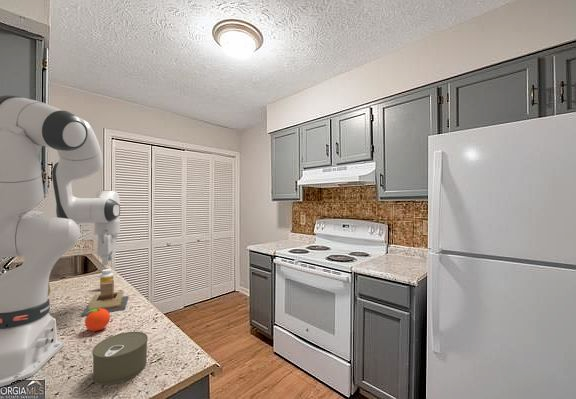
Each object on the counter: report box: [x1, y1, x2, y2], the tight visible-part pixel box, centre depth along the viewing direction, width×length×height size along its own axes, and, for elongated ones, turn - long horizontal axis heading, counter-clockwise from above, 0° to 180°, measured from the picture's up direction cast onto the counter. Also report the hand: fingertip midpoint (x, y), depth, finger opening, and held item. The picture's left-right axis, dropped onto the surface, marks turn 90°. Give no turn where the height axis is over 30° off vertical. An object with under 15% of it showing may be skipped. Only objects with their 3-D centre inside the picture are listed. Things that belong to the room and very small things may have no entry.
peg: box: [99, 279, 115, 300], centre depth 107 cm, size 4×4×9 cm
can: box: [91, 331, 149, 386], centre depth 67 cm, size 12×12×7 cm
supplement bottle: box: [99, 268, 114, 291], centre depth 128 cm, size 5×5×10 cm
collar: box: [81, 290, 130, 317], centre depth 107 cm, size 14×14×4 cm
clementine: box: [84, 309, 111, 332], centre depth 87 cm, size 8×7×7 cm
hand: (107, 262), depth 107 cm, fingers open, 8 cm apart
